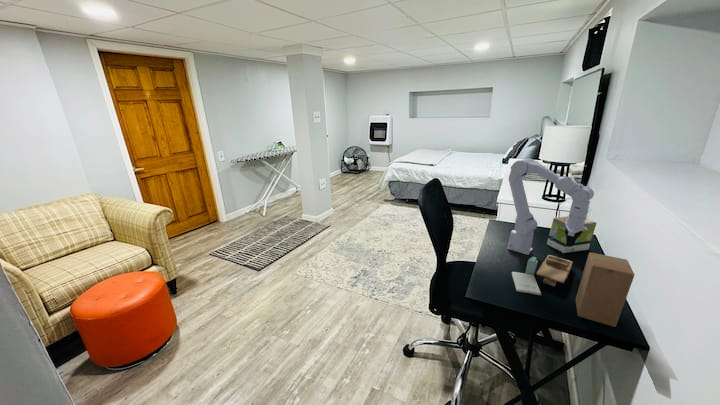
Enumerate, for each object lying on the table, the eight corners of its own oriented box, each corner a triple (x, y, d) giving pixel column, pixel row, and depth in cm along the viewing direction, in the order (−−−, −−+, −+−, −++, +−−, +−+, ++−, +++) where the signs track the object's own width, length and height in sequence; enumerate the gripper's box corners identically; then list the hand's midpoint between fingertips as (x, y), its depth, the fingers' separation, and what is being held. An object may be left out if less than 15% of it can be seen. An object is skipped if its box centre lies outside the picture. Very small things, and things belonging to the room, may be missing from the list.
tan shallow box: (535, 279, 115) (537, 272, 114) (546, 261, 128) (548, 254, 127) (562, 289, 109) (564, 281, 108) (570, 268, 122) (572, 261, 121)
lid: (536, 274, 112) (537, 268, 112) (543, 262, 121) (544, 256, 120) (563, 283, 107) (564, 277, 106) (569, 270, 115) (570, 264, 114)
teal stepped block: (524, 273, 119) (527, 259, 117) (527, 269, 122) (530, 255, 120) (532, 276, 117) (536, 262, 115) (535, 272, 120) (538, 258, 118)
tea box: (564, 254, 133) (571, 225, 128) (546, 244, 143) (552, 217, 138) (589, 250, 137) (597, 221, 132) (570, 240, 146) (577, 214, 141)
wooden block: (616, 328, 90) (635, 274, 84) (577, 316, 95) (592, 265, 89) (610, 309, 98) (627, 259, 92) (575, 299, 103) (589, 251, 97)
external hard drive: (533, 278, 117) (540, 296, 106) (511, 274, 120) (516, 292, 109) (534, 274, 117) (541, 293, 106) (511, 271, 119) (516, 288, 108)
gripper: (587, 224, 109) (578, 255, 114) (591, 213, 119) (583, 242, 123) (565, 219, 114) (557, 249, 118) (571, 209, 123) (564, 237, 128)
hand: (569, 245), depth 121 cm, fingers closed
